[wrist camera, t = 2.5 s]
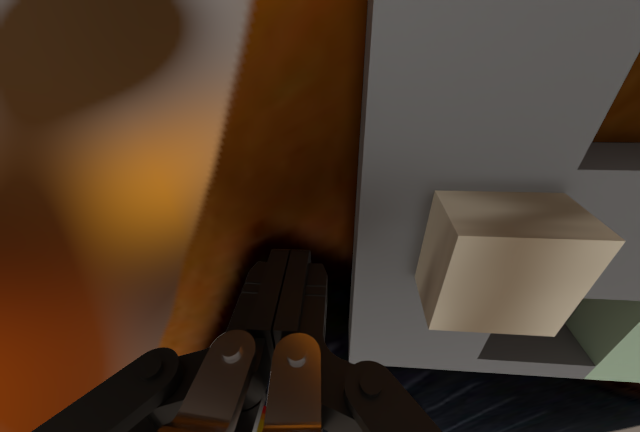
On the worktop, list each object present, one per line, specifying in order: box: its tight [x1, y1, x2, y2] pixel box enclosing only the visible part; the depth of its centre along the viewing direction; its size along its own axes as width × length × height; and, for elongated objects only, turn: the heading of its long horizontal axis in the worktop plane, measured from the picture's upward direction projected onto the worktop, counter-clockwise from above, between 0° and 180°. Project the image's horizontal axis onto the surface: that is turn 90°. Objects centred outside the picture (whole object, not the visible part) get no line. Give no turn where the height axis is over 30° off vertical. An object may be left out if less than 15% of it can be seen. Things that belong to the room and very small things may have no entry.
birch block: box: [415, 190, 626, 337], centre depth 12 cm, size 5×5×3 cm
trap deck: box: [349, 0, 640, 383], centre depth 12 cm, size 24×22×6 cm
